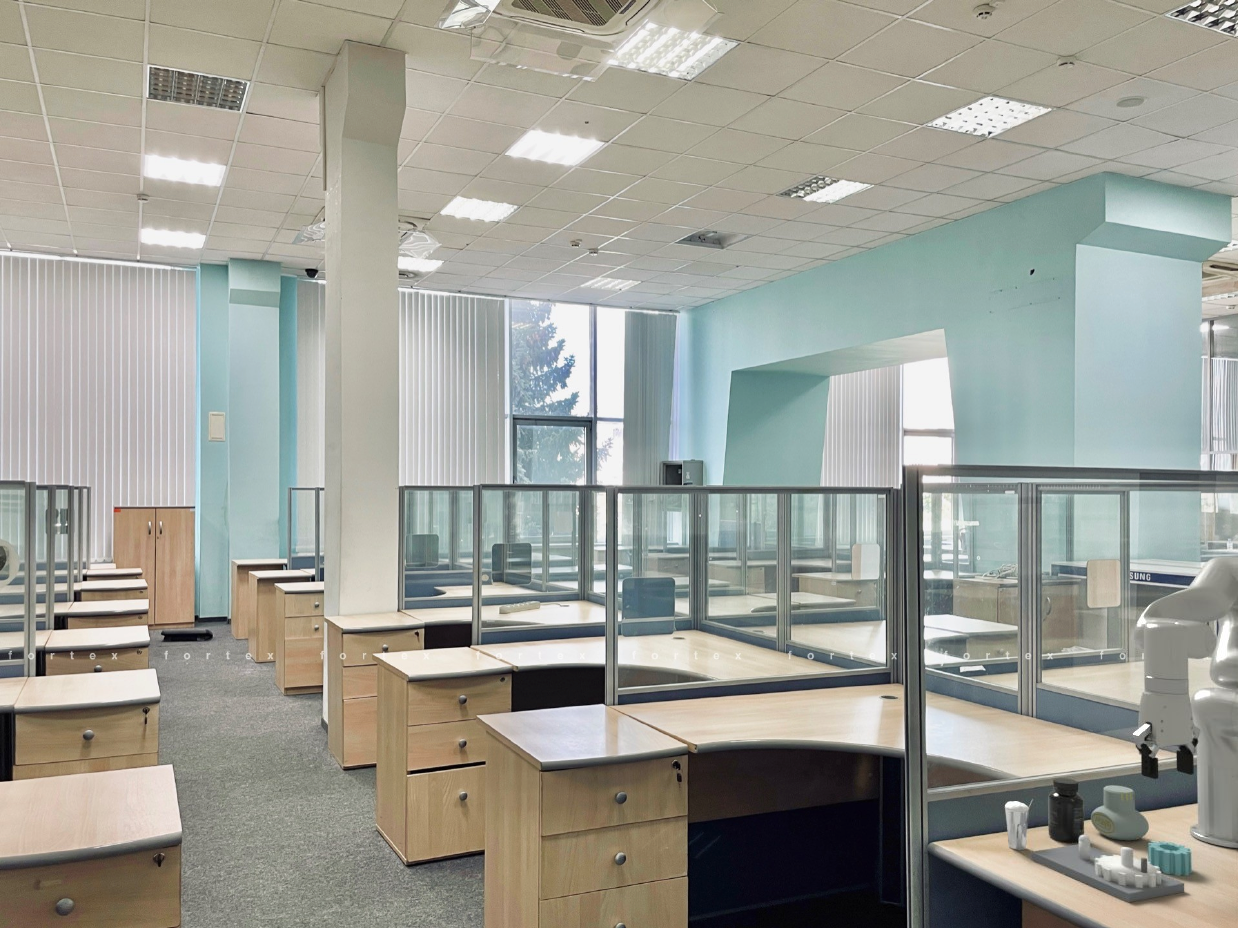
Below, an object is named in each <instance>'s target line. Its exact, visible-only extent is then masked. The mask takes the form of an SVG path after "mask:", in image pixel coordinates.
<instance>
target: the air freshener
mask: <svg viewBox="0 0 1238 928" xmlns="http://www.w3.org/2000/svg"><path fill="white" fill-rule="evenodd" d="M1135 795H1136V793H1135V791H1134V790H1133V789H1132V788H1129V787H1127V786H1122V785H1111V784H1110V785H1105V786H1104V787H1103V805H1101V806H1098V807H1096V808H1095V809H1094V810H1093V811H1092V812H1091V815H1090V821H1091V824H1092V826H1093V827H1094V828H1095V830H1097V831H1098V832H1099V833H1100V834H1102V835H1104V836H1105V837H1106V838H1108V839H1110V840H1111V839H1112V840H1118V841H1136V840H1139V839H1141V838H1143V837H1145V836H1146V834H1147V833H1148V831H1149V829H1150V826H1149V822H1148V820H1147V818H1146V817H1145V816H1144V815H1143V814H1142V813H1141V812H1140V811H1138V810H1136V802H1135V801H1136V800H1135V799H1136V798H1135Z"/></svg>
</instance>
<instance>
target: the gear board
mask: <svg viewBox="0 0 1238 928" xmlns="http://www.w3.org/2000/svg"><path fill="white" fill-rule="evenodd" d="M1030 856H1031V857H1030V860H1032V861H1034V862H1035V863H1038V864H1040V865H1042V866H1045V867H1047V868H1050V869H1052V870H1054V871H1057V872H1058V873H1060V874H1063V875H1065V876H1067V877H1070V878H1072V879H1075V880H1077V881H1079V882H1081V883H1084V884H1086V885H1088V886H1090V887H1093V888H1095V889H1098V890H1099V891H1102V892H1104V893H1106V894H1108V895H1111V896H1114V897H1116V898H1118V899H1120V900H1122V901H1125V902H1127V903H1132V902H1139V901H1144V900H1148V899H1153V898H1160V897H1164V896H1169V895H1175V894H1179V893H1184V892H1185V882H1182V881H1179V880H1178V879H1174V878H1173V877H1170V876H1167V875H1164V874H1162V872H1161V871H1160V868H1159V867H1158V866H1153V865H1151V863H1150V862H1148V857H1140V859H1137V858H1136V857H1134V849H1133V848H1132V847H1128V846H1121V847H1120V855H1119V854H1111V853H1108V852H1107V851H1103V850H1101V849H1098V848H1096V847H1093V846H1091V839H1090V837H1089V836H1088V835H1086V834H1084V835H1081V836H1080V837H1079V843H1076V844H1073V845H1072V844H1070V845H1065V846H1058V847H1052V848H1047V849H1040V850H1034V851H1031V852H1030Z"/></svg>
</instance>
